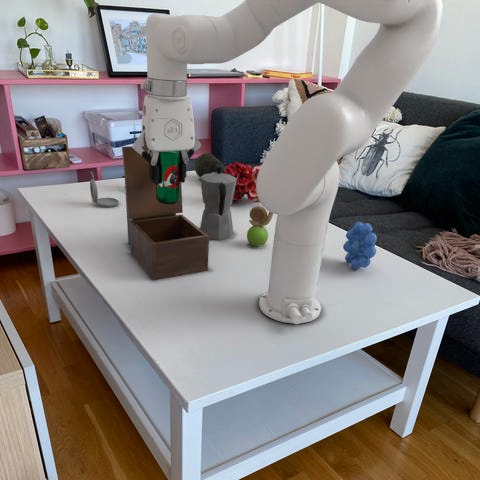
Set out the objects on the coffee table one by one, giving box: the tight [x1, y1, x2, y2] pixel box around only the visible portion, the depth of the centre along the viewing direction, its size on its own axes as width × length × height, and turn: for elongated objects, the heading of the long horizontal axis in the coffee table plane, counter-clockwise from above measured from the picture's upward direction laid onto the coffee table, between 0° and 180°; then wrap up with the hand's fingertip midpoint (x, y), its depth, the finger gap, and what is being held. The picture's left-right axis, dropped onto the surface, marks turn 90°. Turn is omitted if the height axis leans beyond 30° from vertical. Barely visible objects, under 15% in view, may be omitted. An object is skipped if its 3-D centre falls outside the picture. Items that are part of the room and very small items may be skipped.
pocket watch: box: [89, 170, 119, 208], centre depth 142 cm, size 8×8×10 cm
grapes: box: [342, 221, 378, 271], centre depth 115 cm, size 12×7×12 cm, turn 19°
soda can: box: [156, 151, 180, 204], centre depth 103 cm, size 5×5×12 cm
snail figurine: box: [246, 205, 274, 247], centre depth 123 cm, size 5×6×12 cm
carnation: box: [194, 152, 262, 203], centre depth 159 cm, size 16×18×35 cm
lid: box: [121, 145, 184, 219], centre depth 113 cm, size 16×13×5 cm
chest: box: [129, 213, 210, 281], centre depth 112 cm, size 15×13×8 cm
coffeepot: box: [199, 166, 237, 241], centre depth 125 cm, size 15×9×18 cm, turn 10°
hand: (167, 181), depth 104 cm, fingers closed on soda can, 5 cm apart
